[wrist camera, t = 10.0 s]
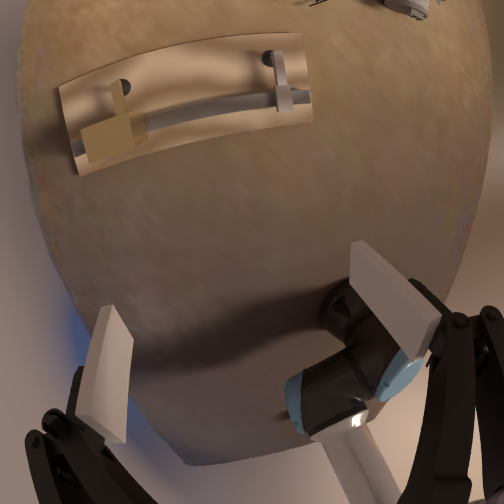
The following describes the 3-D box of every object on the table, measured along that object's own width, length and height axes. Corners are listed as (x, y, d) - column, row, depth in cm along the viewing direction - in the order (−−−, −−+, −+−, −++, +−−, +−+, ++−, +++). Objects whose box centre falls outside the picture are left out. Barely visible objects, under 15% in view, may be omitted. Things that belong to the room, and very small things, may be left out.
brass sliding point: (150, 136, 31) (135, 148, 22) (115, 148, 31) (89, 164, 22) (138, 77, 27) (119, 65, 18) (102, 90, 26) (71, 85, 17)
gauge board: (309, 121, 37) (323, 124, 33) (83, 174, 33) (72, 182, 29) (297, 35, 29) (310, 28, 26) (62, 87, 25) (49, 86, 22)
